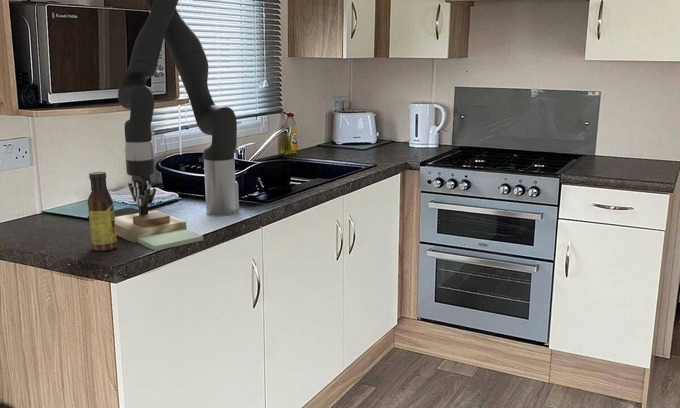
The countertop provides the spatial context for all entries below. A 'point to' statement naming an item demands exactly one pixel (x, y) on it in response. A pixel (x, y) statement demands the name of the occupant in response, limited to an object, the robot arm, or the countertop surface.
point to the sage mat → (169, 239)
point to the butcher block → (133, 231)
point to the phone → (125, 211)
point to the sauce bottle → (101, 214)
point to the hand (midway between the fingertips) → (143, 217)
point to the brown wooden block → (151, 219)
